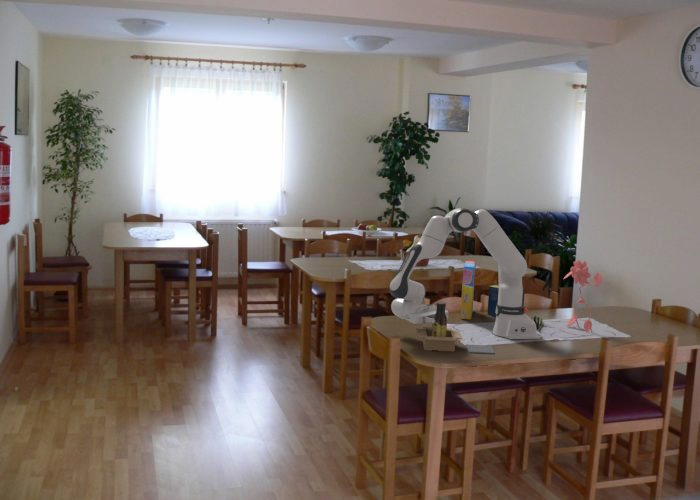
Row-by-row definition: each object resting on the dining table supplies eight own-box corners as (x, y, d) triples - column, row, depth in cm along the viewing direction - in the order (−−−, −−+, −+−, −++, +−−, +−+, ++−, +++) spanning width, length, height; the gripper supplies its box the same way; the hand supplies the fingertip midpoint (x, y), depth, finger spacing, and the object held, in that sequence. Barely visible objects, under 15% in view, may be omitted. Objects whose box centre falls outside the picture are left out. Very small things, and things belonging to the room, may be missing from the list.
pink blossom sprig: (568, 322, 379) (572, 254, 373) (605, 335, 356) (611, 263, 350) (544, 325, 372) (548, 256, 367) (581, 339, 350) (586, 266, 344)
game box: (471, 320, 377) (474, 267, 373) (460, 319, 378) (463, 266, 374) (472, 311, 397) (476, 260, 393) (462, 310, 398) (465, 260, 394)
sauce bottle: (429, 344, 330) (432, 300, 327) (443, 344, 330) (446, 300, 327) (432, 348, 323) (435, 303, 320) (446, 348, 324) (449, 304, 321)
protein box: (498, 312, 397) (500, 283, 395) (523, 318, 386) (525, 288, 383) (486, 314, 390) (488, 285, 388) (511, 320, 379) (513, 291, 376)
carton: (457, 341, 336) (458, 328, 335) (462, 353, 317) (463, 340, 316) (415, 339, 336) (416, 326, 335) (417, 351, 318) (418, 338, 317)
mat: (490, 346, 329) (490, 345, 329) (494, 354, 319) (494, 352, 318) (465, 345, 330) (465, 344, 330) (468, 352, 319) (468, 351, 319)
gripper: (402, 309, 328) (424, 316, 317) (435, 304, 340) (457, 310, 330) (401, 323, 329) (423, 330, 318) (434, 317, 341) (456, 324, 331)
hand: (441, 320), depth 324 cm, fingers closed on sauce bottle, 6 cm apart
